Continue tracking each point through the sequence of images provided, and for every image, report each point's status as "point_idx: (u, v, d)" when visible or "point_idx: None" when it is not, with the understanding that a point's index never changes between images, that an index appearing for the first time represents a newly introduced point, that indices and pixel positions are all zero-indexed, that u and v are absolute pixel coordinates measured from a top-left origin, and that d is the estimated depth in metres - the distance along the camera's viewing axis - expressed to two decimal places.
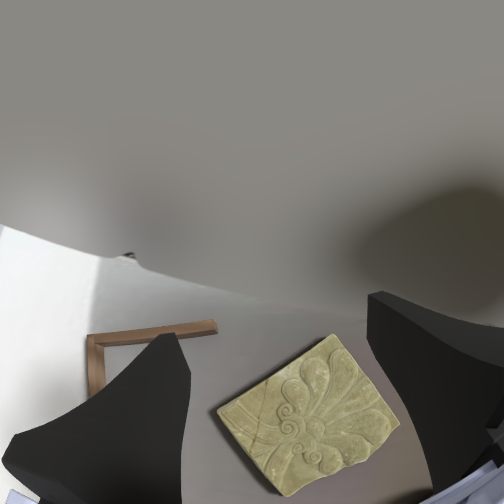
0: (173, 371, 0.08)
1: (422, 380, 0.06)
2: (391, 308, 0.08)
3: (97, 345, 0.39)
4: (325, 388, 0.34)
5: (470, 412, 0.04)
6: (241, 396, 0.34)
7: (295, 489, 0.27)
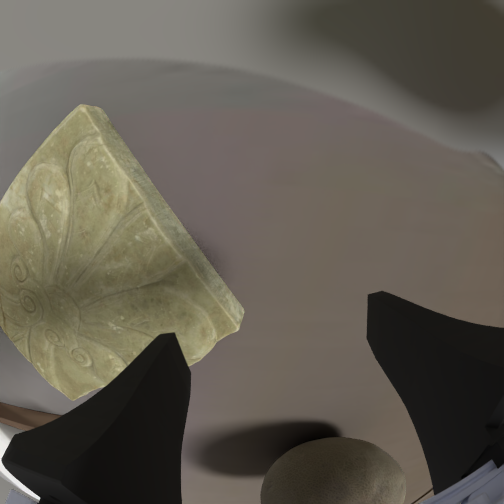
0: (173, 371, 0.08)
1: (422, 380, 0.06)
2: (391, 308, 0.08)
3: None
4: (62, 229, 0.15)
5: (470, 412, 0.04)
6: None
7: (78, 395, 0.19)
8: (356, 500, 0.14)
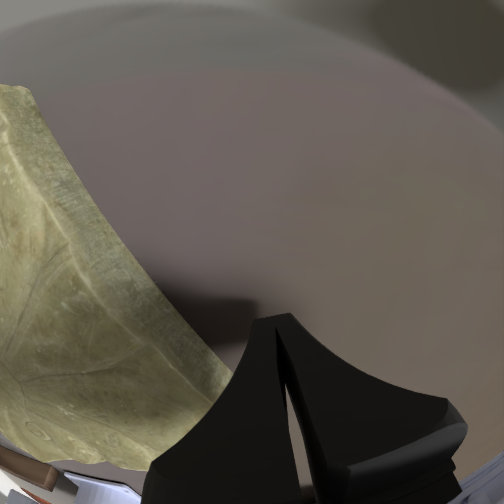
0: (279, 356, 0.08)
1: (302, 418, 0.06)
2: (280, 336, 0.08)
3: None
4: None
5: (319, 474, 0.04)
6: None
7: (46, 460, 0.12)
8: None
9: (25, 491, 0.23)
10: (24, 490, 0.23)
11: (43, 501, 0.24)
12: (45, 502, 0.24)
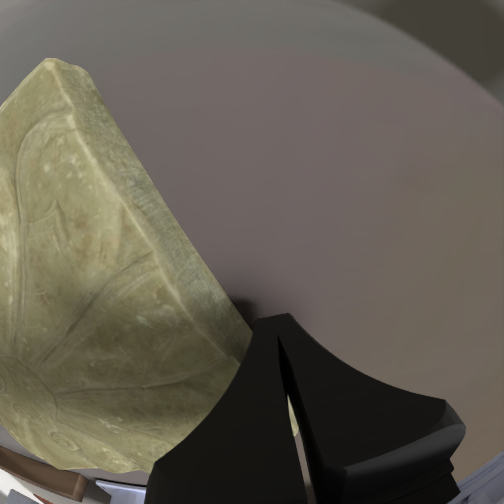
0: (281, 356, 0.08)
1: (300, 418, 0.06)
2: (278, 336, 0.08)
3: None
4: (12, 283, 0.07)
5: (316, 474, 0.04)
6: None
7: (64, 467, 0.12)
8: None
9: (38, 497, 0.23)
10: (37, 496, 0.23)
11: None
12: None
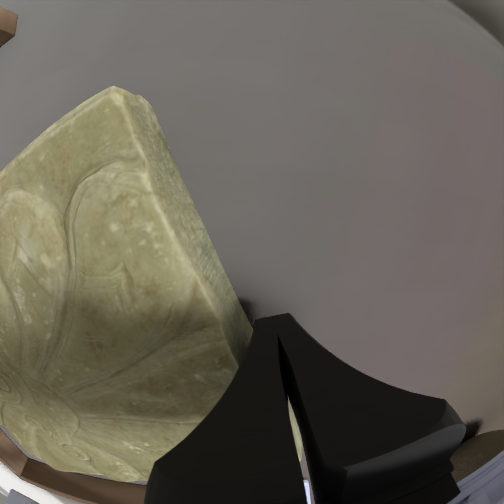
0: (281, 356, 0.08)
1: (300, 418, 0.06)
2: (278, 336, 0.08)
3: None
4: (53, 322, 0.08)
5: (316, 474, 0.04)
6: None
7: (63, 469, 0.12)
8: None
9: None
10: None
11: None
12: None
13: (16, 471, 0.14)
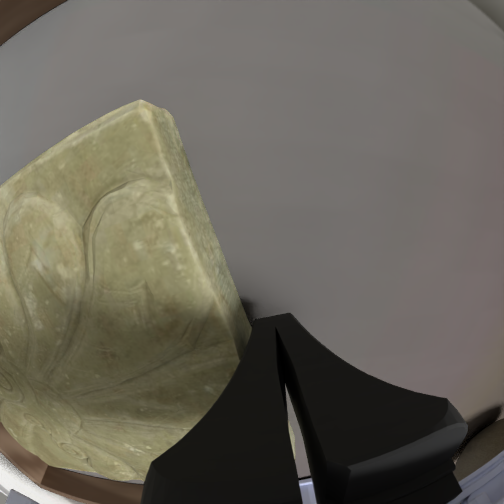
0: (279, 356, 0.08)
1: (302, 418, 0.06)
2: (280, 335, 0.08)
3: None
4: (65, 330, 0.08)
5: (319, 474, 0.04)
6: None
7: (57, 465, 0.12)
8: None
9: None
10: None
11: None
12: None
13: (36, 479, 0.14)
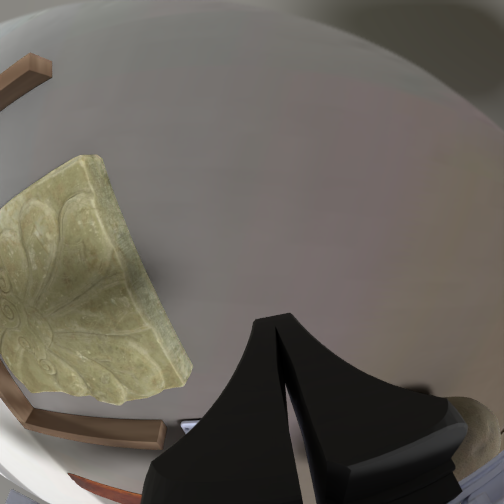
0: (279, 356, 0.08)
1: (302, 418, 0.06)
2: (280, 335, 0.08)
3: None
4: (48, 268, 0.15)
5: (319, 474, 0.04)
6: None
7: (37, 390, 0.19)
8: (479, 440, 0.14)
9: (74, 476, 0.30)
10: (72, 475, 0.30)
11: (95, 484, 0.31)
12: (97, 485, 0.31)
13: (22, 418, 0.21)
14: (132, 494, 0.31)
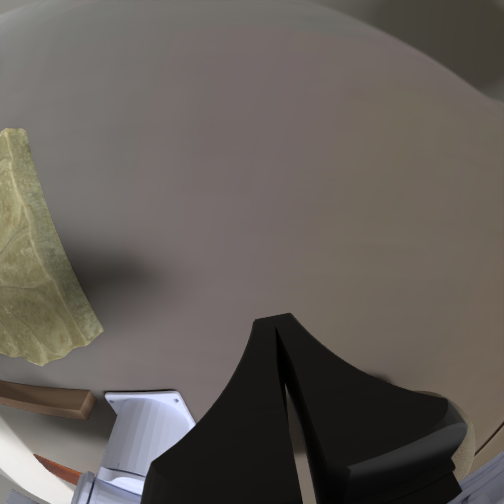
0: (279, 356, 0.08)
1: (302, 418, 0.06)
2: (280, 335, 0.08)
3: None
4: None
5: (319, 474, 0.04)
6: None
7: None
8: None
9: (38, 457, 0.29)
10: (37, 456, 0.29)
11: (57, 466, 0.29)
12: (59, 467, 0.29)
13: None
14: None
